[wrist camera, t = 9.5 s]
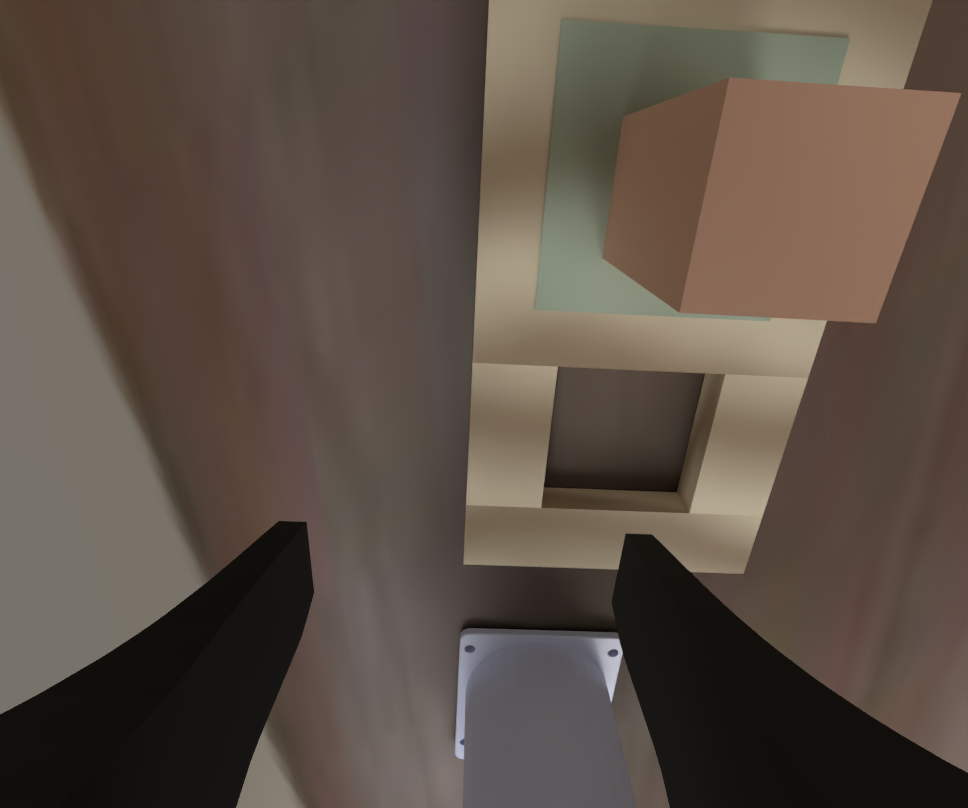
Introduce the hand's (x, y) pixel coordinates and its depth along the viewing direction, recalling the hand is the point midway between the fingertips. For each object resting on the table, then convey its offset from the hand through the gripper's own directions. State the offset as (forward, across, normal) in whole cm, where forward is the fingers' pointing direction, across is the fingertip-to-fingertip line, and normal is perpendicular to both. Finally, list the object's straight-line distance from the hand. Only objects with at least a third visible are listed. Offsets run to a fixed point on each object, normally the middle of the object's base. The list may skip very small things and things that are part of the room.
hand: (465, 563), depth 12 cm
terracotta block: (+8, -6, -8) cm, 13 cm away
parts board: (+9, -6, -3) cm, 12 cm away
